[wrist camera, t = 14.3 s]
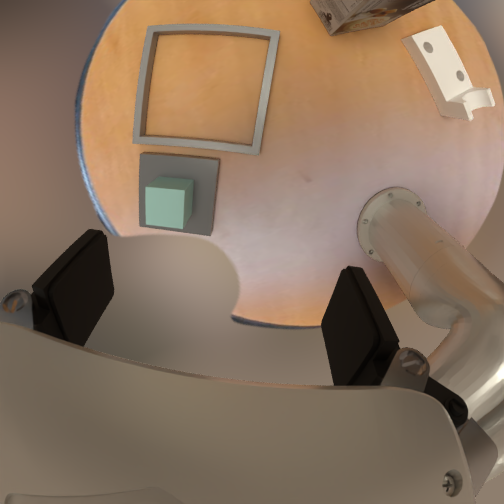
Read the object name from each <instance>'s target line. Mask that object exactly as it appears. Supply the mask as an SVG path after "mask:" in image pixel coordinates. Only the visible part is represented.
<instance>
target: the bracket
mask: <svg viewBox="0 0 504 504" xmlns="http://www.w3.org/2000/svg"><path fill="white" fill-rule="evenodd" d="M401 41H402V42H403V44H404V46H405V47H406V49H407V50H408V52H409V54H410V55H411V57H412V59H413V61H414V62H415V64H416V66H417V68H418V69H419V71H420V73H421V75H422V77H423V79H424V81H425V83H426V85H427V87H428V89H429V91H430V93H431V95H432V97H433V99H434V101H435V104H436V106H437V108H438V110H439V113H440V115H441V116H447V117H452V118H457V119H463V120H467V121H471V120H472V119H474V118H473V115H472V113H471V111H472V110H474V109H477V108H480V107H487V106H489V107H493V106H495V102H494V99H493V96H492V93H491V91H490V88H481V87H473V86H472V84H471V81H470V79H469V77H468V74H467V72H466V70H465V68H464V66H463V64H462V62H461V60H460V58H459V56H458V54H457V52H456V50H455V48H454V46H453V44H452V42H451V41H450V39H449V37H448V35H447V34H446V32H445V30H444V29H443V27H442V25H441V26H438V27H434V28H431V29H428V30H425V31H423V32H420V33H417V34H414V35H412V36H409V37H406V38H404V39H401Z"/></svg>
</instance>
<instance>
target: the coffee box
mask: <svg viewBox="0 0 504 504" xmlns="http://www.w3.org/2000/svg"><path fill="white" fill-rule="evenodd" d="M432 1H435V0H311V1H310V3H311V5H312V6H313V8H314V10H315V11H316V13H317V14H318V16H319V17H320V19H321V21H322V23H323V24H324V26H325V28H326V29H327V31H328V33H329V34H330V36H334V35H339V34H343V33H348V32H352V31H357V30H363V29H368V28H374V27H380V26H384V25H386V24H388V23H390V22H392V21H393V20H395V19H397V18H399V17H401V16H403V15H405V14H407V13H409V12H411V11H413V10H415V9H417V8H419V7H421V6H424V5H426V4H428V3H430V2H432Z"/></svg>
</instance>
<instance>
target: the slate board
mask: <svg viewBox="0 0 504 504" xmlns="http://www.w3.org/2000/svg"><path fill="white" fill-rule="evenodd" d="M219 163H220V159H218V158H209V157H200V156H190V155H179V154H166V153H151V152H143V153H141V154H140V165H139V225H140V227H148V228H155V229H163V230H170V231H177V232H184V233H192V234H199V235H206V236H211V233H212V226H213V216H214V206H215V197H216V188H217V179H218V171H219ZM158 177H170V178H181V179H192V180H194V185H193V200H192V214H191V216H190V218H189V220H188V221H187V223H186V225H185V226H184V228H183V229H179V228H171V227H163V226H155V225H146V205H145V187H146V186H147V185H149V184H150V183H151V182H152V181H154V180H155V179H156V178H158Z"/></svg>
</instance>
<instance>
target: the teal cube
mask: <svg viewBox="0 0 504 504" xmlns="http://www.w3.org/2000/svg"><path fill="white" fill-rule="evenodd" d="M193 185H194V180H192V179H181V178H170V177H158V178H156V179H155V180H154V181H152V182H151V183H150V184H149V185H147V186H146V187H145V205H146V225H155V226H163V227H171V228H179V229H183V228H184V226H185V225H186V223H187V221H188V220H189V218H190V216H191V214H192V200H193Z"/></svg>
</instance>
